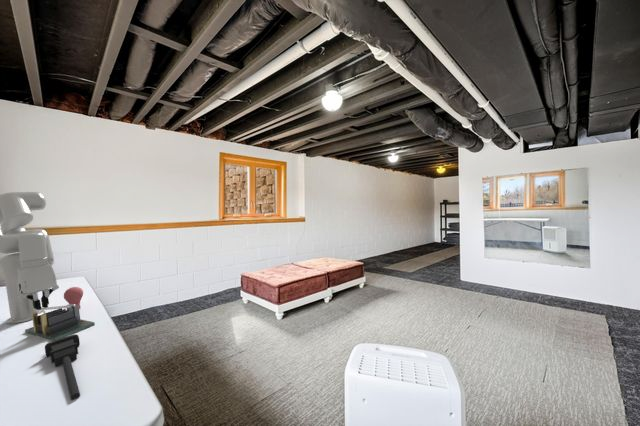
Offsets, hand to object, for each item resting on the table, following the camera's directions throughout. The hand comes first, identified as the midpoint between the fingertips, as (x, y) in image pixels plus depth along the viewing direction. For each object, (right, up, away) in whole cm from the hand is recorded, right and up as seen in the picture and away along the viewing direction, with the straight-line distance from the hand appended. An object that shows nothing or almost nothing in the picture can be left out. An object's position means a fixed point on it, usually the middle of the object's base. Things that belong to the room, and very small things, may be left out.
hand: (41, 308), depth 107 cm
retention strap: (+2, -2, +5) cm, 5 cm away
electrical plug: (+34, -11, -24) cm, 43 cm away
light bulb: (-9, -10, +25) cm, 28 cm away
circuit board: (+2, -11, +5) cm, 12 cm away
